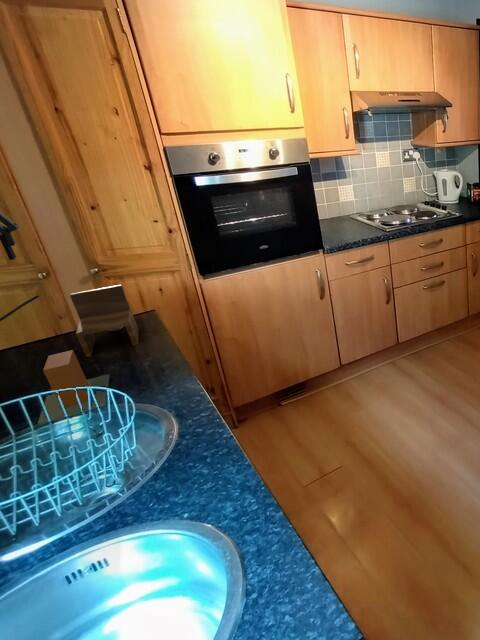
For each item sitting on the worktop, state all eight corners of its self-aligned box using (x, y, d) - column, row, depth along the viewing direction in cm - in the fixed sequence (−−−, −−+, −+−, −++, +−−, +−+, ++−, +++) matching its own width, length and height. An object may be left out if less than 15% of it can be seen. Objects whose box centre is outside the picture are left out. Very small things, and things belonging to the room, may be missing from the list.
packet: (66, 392, 115) (48, 355, 111) (89, 386, 117) (72, 349, 113) (61, 408, 109) (42, 370, 105) (86, 401, 112) (68, 364, 107)
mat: (49, 391, 116) (48, 389, 116) (109, 375, 123) (108, 373, 122) (38, 425, 104) (37, 423, 104) (105, 406, 111) (104, 404, 111)
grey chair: (90, 340, 140) (69, 293, 134) (138, 329, 147) (121, 284, 140) (86, 357, 131) (64, 308, 125) (138, 344, 138) (119, 297, 131)
